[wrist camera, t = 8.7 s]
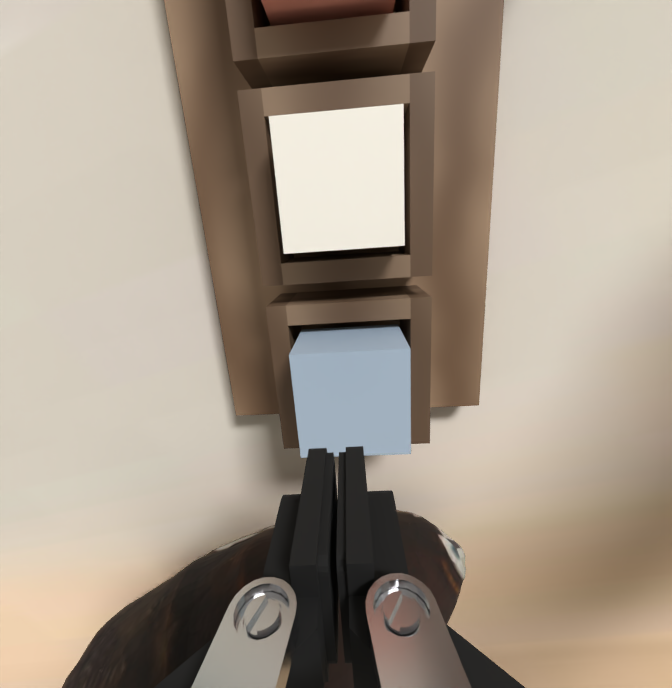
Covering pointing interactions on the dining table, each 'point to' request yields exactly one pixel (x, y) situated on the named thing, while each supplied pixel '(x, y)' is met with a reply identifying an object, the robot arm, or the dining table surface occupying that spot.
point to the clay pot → (216, 595)
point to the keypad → (419, 186)
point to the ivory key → (340, 178)
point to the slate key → (352, 389)
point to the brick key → (322, 10)
